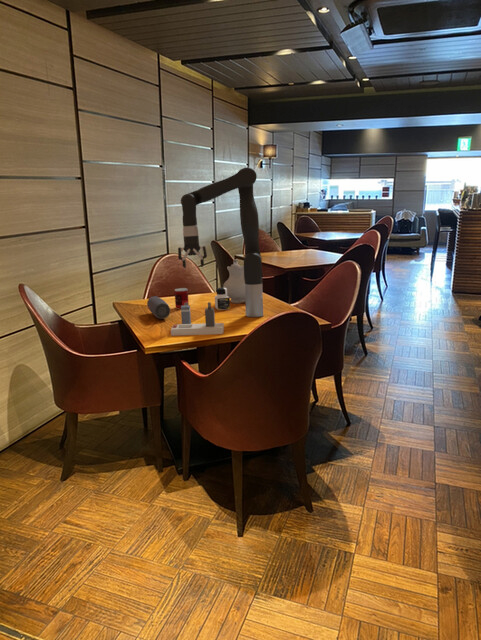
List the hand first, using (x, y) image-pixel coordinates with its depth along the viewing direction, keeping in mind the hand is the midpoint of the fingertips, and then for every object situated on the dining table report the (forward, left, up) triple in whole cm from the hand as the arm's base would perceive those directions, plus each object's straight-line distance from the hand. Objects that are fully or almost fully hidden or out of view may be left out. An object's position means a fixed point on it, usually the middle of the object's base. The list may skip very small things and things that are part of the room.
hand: (193, 267), depth 246 cm
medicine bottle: (-12, -26, -28) cm, 40 cm away
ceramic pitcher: (-21, -47, -28) cm, 59 cm away
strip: (-3, +25, -28) cm, 37 cm away
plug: (+4, +12, -28) cm, 30 cm away
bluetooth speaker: (+22, -11, -28) cm, 37 cm away
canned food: (+12, -32, -28) cm, 44 cm away
